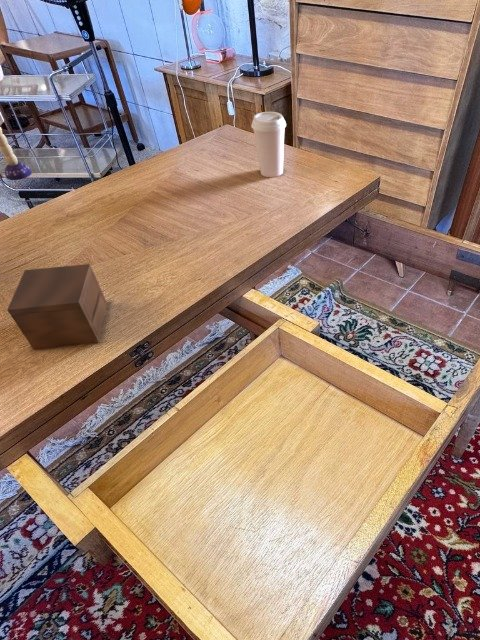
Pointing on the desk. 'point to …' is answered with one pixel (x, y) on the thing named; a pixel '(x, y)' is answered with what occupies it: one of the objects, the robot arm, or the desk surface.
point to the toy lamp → (12, 162)
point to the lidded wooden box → (59, 306)
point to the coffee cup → (269, 142)
